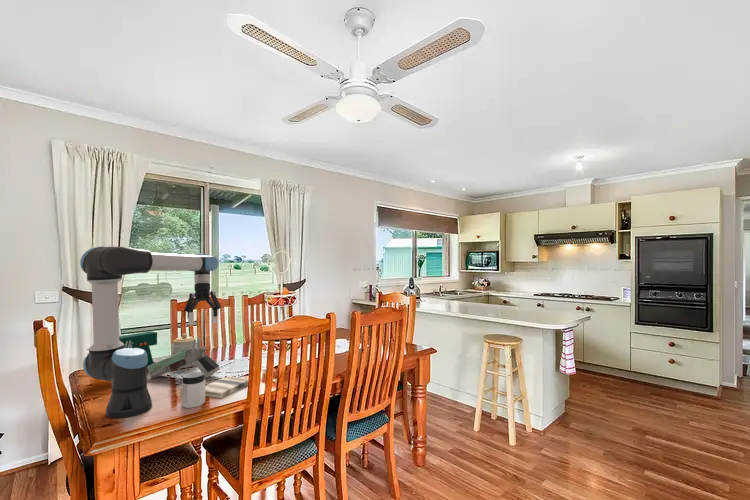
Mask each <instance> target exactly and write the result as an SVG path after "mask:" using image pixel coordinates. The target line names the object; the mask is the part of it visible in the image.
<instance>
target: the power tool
mask: <svg viewBox="0 0 750 500" xmlns="http://www.w3.org/2000/svg"><path fill="white" fill-rule="evenodd" d="M119 340H120V341H121V342H122V343H124V348H140V349H143V350H145V351H146V352H147V358H148V365H147V366H149V365H151V364H154V363H156V361H154V360H153V355H152V351H151V349H150V347H152V346H156V345H158V332H156V331H153V330H152V331H150V330H149V331H144V332H137V333H131V334H126V335H119ZM85 350H86V351H89V348H88V349H87V348H86V349H85ZM147 373H149V371H148V368H147Z"/></svg>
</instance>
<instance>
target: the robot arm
mask: <svg viewBox="0 0 750 500" xmlns="http://www.w3.org/2000/svg"><path fill="white" fill-rule="evenodd" d="M79 265H80V269H81V270H82V271H83V272H84V273H85V274H86V281H87V282H88V283H89V284H91V294H92V296H91V300H92V327H93V328H92V332H93V333H92V334H93V335H92V336H93V337H92V338H93V343H92V345H91V346H89V348H88V349H89V350H88V353H87V354H86V356H85V357H84V359H83V362H82V367H83V371H84V374H86V375H87V376H88V377H90V378H93V379H94V380H98V381H99V380H100V381H101V380H102V381H106V382H111V394H110V397H109V400H108V403H107V406H106V408H105V416H106V417H108V418H110V419H121V418H123V419H124V418H130V417H134V416H137V415H140V414H143V413H145V412H147V411H149V410H151V409H152V407H153V401H152V397H151V395H150V392H149V389H148V372H147V365H148V358H147V352H146V351H145V350H143V349H140V348H124V343H122V342H121V341H120V340H119V336H120V322H119V321H120V319H119V313H120V311H119V282H120V281H122V280H123V276H126V275H134V274H147V273H149V272H150V271H151V272H153V271H154V272H155V271H158V272H159V271H160V272H163V271H165V272H171V271H174V272H175V271H176V272H179V271H180V272H194V286H193V287H194V293H193V292H192V293H189V295H188V297H189V298H188V300H187V302H186V304H185V307H184V309H183V311H184V312H186V313H187V319H188V326H193V325H194V323H195V322H194V320H195V319H194V313H195V312H193V311H194V310H195V308H196V307H197V305H198V304H199V303H200V302H206V303H207V304H208V305H209V306H210V308H211V309H212V310H211V324H217V317H218V310H219V309H221V308H222V306H221V303H220V302H219V300H218V298H217V294H216V291H213V290H211V272H214V271H216V270H217V269H218V267H219V259H218V258H217V257H216V256H215V255H210V254H208V253H195V254H179V253H163V252H162V253H161V252H151V251H150V250H147V249H138V248H132V247H128V246H127V247H126V246H97V247H93V248H90V249H88V250H86V251H85V252H84V253H83V254H82V256H81V257H80V262H79ZM210 290H211V291H210Z"/></svg>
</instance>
